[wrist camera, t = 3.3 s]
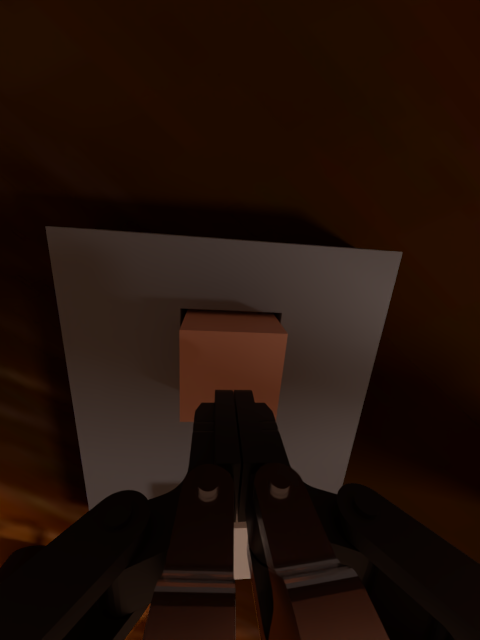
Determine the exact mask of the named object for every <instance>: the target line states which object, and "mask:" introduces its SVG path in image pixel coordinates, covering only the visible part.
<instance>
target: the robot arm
mask: <svg viewBox="0 0 480 640" xmlns="http://www.w3.org/2000/svg"><path fill="white" fill-rule="evenodd" d="M236 514H237V516H238V522H246V524H247V534H248V539H247V558H248V564H249V570H250V577H251V583H252V589H253V595H254V601H255V607H256V614H257V620H258V626H259V632H260V638H261V640H480V564H479V563H477V562H476V561H474V560H473V559H471V558H470V557H468V556H467V555H466V554H464V553H463V552H461V551H460V550H458V549H457V548H456V547H454V546H453V545H451V544H450V543H448V542H447V541H445V540H444V539H443V538H441V537H440V536H438V535H437V534H435V533H434V532H433V531H431V530H430V529H428V528H427V527H425V526H424V525H423V524H421V523H420V522H418V521H417V520H415V519H414V518H412V517H411V516H410V515H408V514H407V513H405V512H404V511H402V510H401V509H400V508H398V507H397V506H395V505H394V504H392V503H391V502H389V501H388V500H387V499H385V498H384V497H382V496H381V495H379V494H378V493H377V492H375V491H374V490H372V489H370V488H368V487H366V486H363V485H360V484H354V483H351V484H346V485H344V486H342V487H341V488H340V489H339V491H338V493H337V494H335V493H331V492H328V491H324V490H320V489H317V488H314V487H312V486H310V485H308V484H306V483H304V482H303V480H302V478H301V477H300V475H299V474H298V473H297V472H296V471H295V470H294V469H292V468H291V466H290V463H289V460H288V457H287V454H286V451H285V448H284V445H283V442H282V439H281V436H280V433H279V431H278V426H277V423H276V420H275V417H274V414H273V411H272V410H271V409H270V408H269V407H268V406H267V405H266V403H255V401H254V397H253V392H252V390H234V392H233V390H215V399H214V403H201V404H200V405H199V406H198V408H197V409H196V411H195V415H194V424H193V433H192V441H191V450H190V459H189V467H188V472H187V474H186V476H185V478H184V480H183V481H182V482H181V483H180V484H179V485H178V486H177V487H176V488H174V489H173V490H171V491H170V492H168V493H166V494H163V495H160V496H158V497H155V498H152V499H149V500H147V498H146V497H145V496H144V495H143V494H142V493H140V492H138V491H135V490H123V491H119V492H116V493H114V494H111V495H110V496H108V497H106V498H105V499H103V500H102V501H101V502H99V503H98V504H97V505H96V506H95V507H93V508H92V509H91V510H90V511H88V512H87V513H86V514H85V515H84V516H82V517H81V518H80V519H79V520H77V521H76V522H75V523H74V524H73V525H71V526H70V527H69V528H68V529H66V530H65V531H64V532H63V533H61V534H60V535H59V536H58V537H57V538H55V539H54V540H53V541H52V542H50V543H49V544H48V545H47V546H46V547H44V548H43V549H42V550H41V551H39V552H38V553H37V554H36V555H35V556H33V557H32V558H31V559H30V560H28V561H27V562H26V563H25V564H23V565H22V566H21V567H20V568H19V569H17V570H16V571H15V572H14V573H12V574H11V575H10V576H9V577H8V578H6V579H5V580H4V581H3V582H1V583H0V640H124V639H125V638H126V636H127V635H128V634H129V632H130V631H131V630H132V628H133V627H134V625H135V624H136V623H137V621H138V620H139V619H140V617H141V616H142V615H143V613H144V612H145V610H146V609H147V607H148V605H149V604H150V603H151V605H150V610H149V614H148V618H147V623H146V627H145V631H144V636H143V640H235V580H234V522H236Z"/></svg>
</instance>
